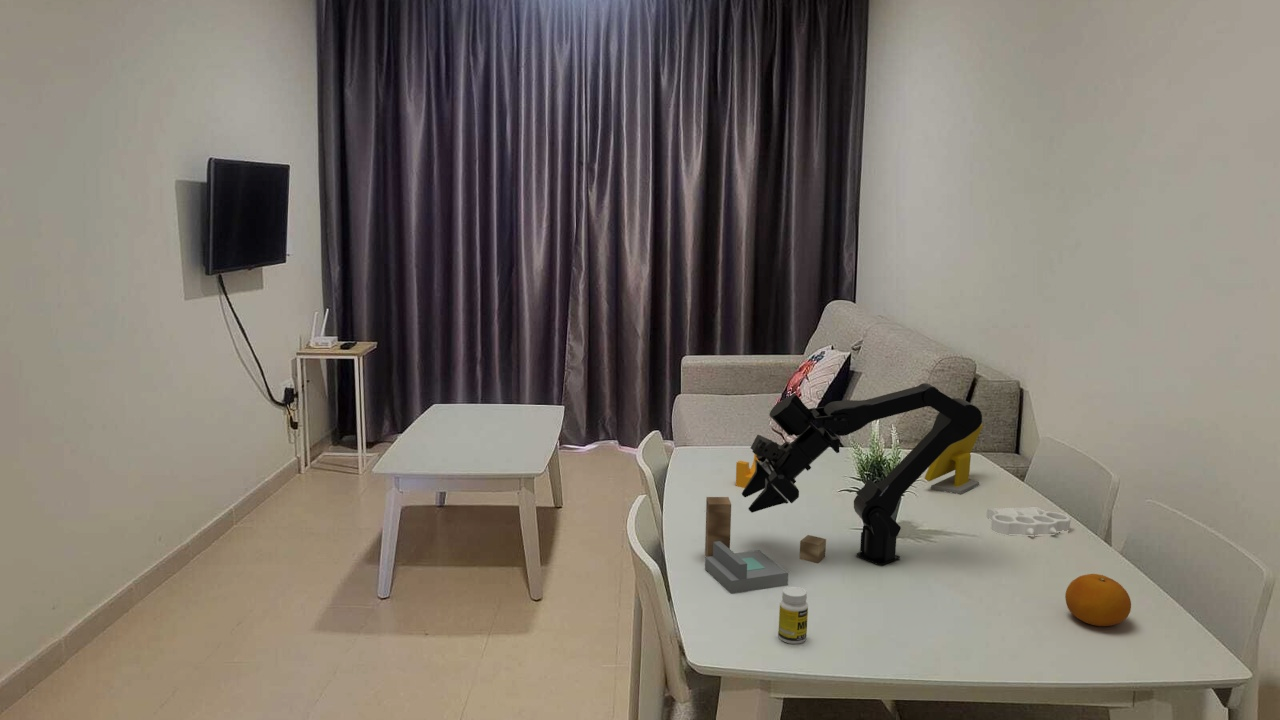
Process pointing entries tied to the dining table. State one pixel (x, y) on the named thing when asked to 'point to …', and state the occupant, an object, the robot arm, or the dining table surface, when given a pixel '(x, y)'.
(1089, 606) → the fruit
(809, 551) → the oak block
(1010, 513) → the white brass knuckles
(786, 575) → the base slab
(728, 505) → the walnut pillar
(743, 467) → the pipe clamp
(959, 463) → the yellow framed monitor
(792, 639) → the supplement bottle
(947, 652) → the dining table surface
